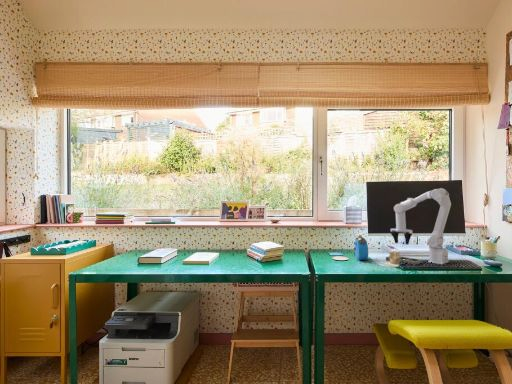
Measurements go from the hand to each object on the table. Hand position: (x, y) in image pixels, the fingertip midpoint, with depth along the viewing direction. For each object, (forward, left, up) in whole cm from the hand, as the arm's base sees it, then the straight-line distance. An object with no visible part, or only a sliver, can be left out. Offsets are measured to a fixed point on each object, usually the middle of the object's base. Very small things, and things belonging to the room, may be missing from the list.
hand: (401, 243), depth 226 cm
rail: (-6, +8, -9) cm, 13 cm away
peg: (-6, +16, -9) cm, 20 cm away
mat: (-6, +16, -9) cm, 20 cm away
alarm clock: (+16, +20, -10) cm, 27 cm away
